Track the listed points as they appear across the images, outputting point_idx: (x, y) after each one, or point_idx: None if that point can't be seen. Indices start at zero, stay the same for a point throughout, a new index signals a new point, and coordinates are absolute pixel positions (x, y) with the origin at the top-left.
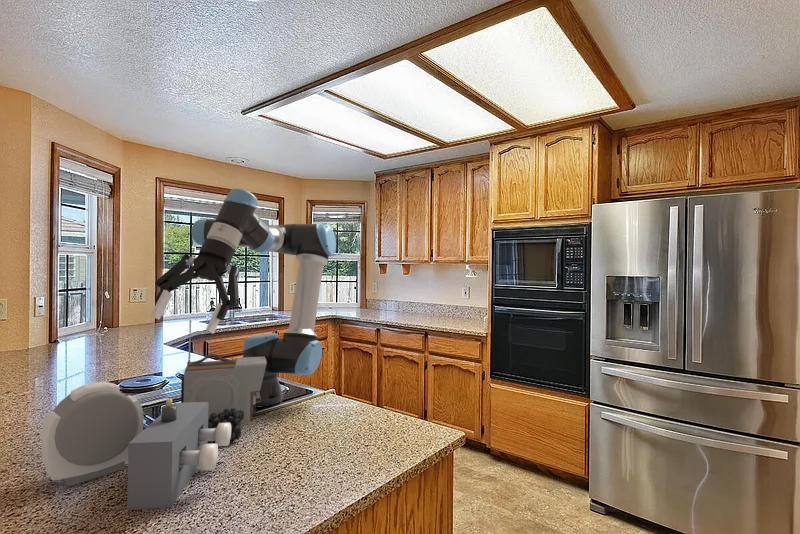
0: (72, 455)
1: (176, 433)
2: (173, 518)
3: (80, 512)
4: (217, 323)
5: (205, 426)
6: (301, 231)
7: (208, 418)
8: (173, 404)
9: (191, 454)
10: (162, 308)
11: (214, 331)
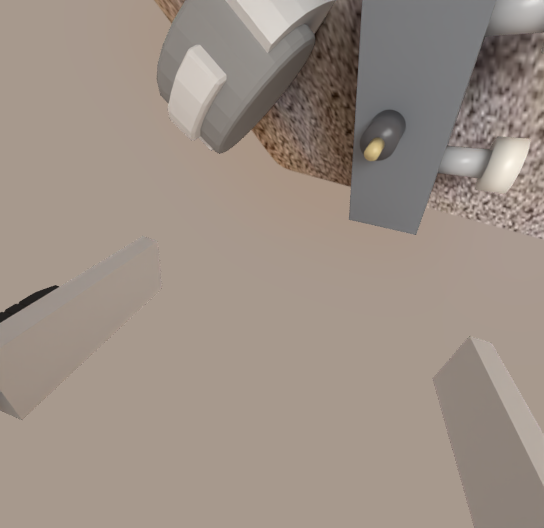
0: (262, 116)
1: (418, 206)
2: (443, 196)
3: (328, 156)
4: (519, 412)
5: None
6: None
7: None
8: (384, 127)
9: (458, 175)
10: (117, 291)
11: (496, 355)
